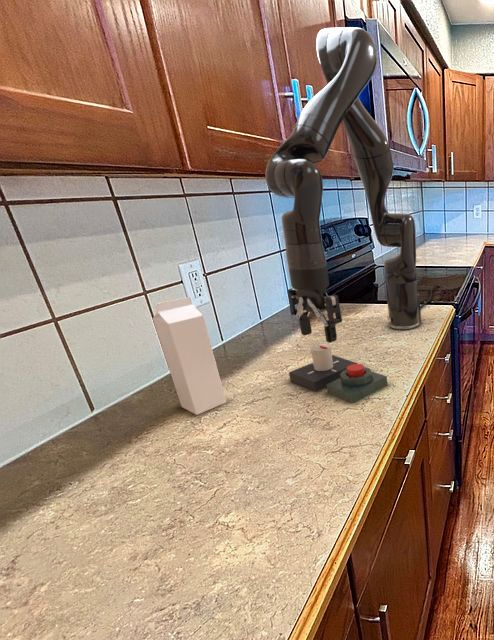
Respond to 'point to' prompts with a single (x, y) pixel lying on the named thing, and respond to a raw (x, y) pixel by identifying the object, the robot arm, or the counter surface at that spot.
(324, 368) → the power knob
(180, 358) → the milk
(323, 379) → the control panel
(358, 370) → the button
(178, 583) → the counter surface
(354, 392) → the switch block
